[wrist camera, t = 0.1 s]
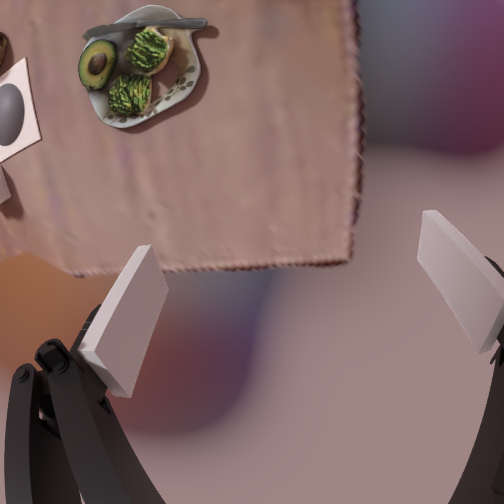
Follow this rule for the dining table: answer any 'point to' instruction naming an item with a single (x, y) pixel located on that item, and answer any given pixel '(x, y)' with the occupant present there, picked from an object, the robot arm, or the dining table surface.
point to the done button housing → (3, 187)
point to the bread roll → (2, 47)
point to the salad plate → (138, 64)
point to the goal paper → (16, 111)
